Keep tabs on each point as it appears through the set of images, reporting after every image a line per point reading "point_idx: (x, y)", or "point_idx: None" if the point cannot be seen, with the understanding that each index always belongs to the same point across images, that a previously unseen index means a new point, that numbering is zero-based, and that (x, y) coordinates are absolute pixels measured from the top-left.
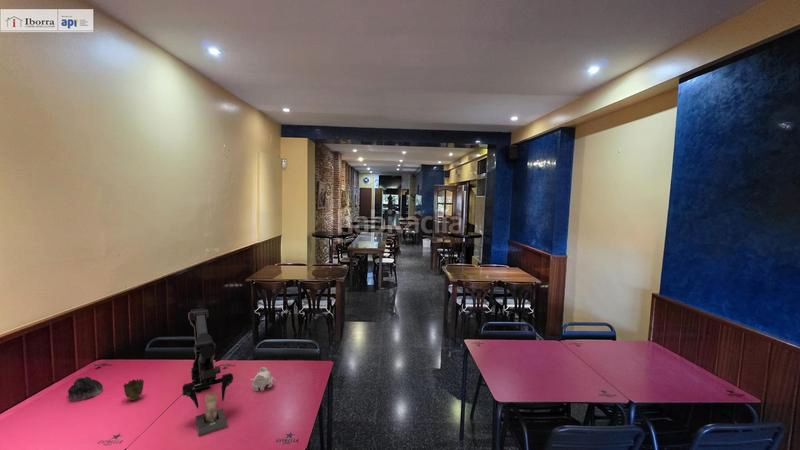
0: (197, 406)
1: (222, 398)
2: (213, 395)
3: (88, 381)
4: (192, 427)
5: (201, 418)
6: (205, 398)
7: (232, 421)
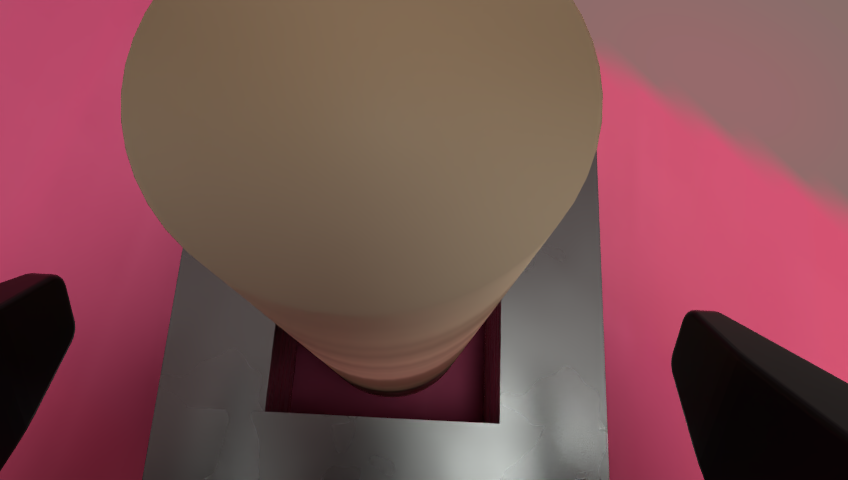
0: (722, 315)
1: (19, 288)
2: (257, 41)
3: None
4: (626, 428)
5: (531, 391)
6: (584, 79)
7: (136, 231)
